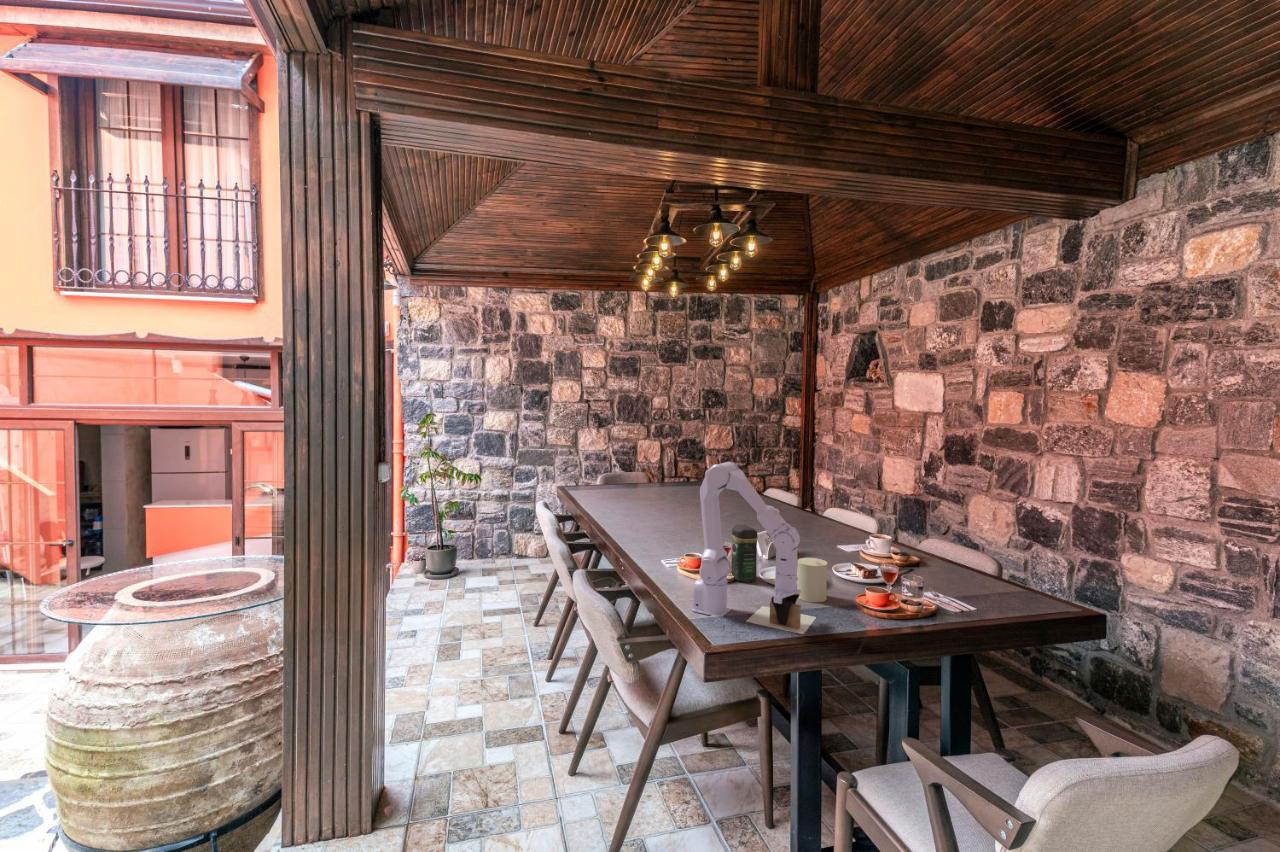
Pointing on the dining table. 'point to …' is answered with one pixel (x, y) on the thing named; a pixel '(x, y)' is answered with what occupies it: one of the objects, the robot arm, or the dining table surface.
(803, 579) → the can
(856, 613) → the dining table surface
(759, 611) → the mat
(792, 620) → the walnut slab
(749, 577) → the coffee jar
